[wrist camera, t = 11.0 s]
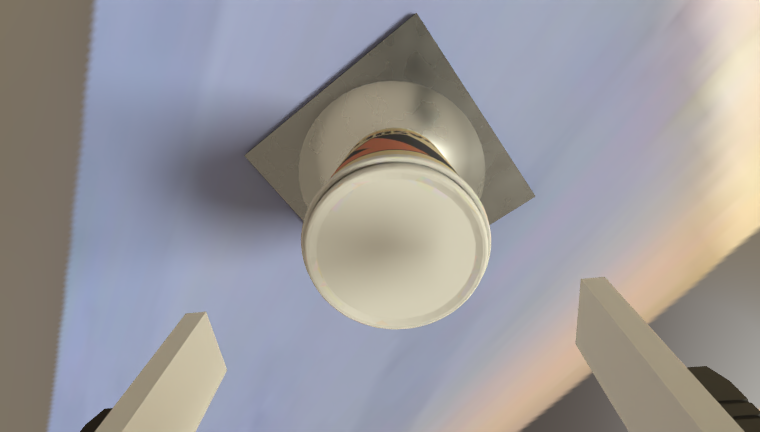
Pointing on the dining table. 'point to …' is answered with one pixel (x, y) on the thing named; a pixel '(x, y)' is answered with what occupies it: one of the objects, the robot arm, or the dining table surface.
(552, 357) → the dining table surface
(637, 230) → the dining table surface
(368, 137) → the coffee cup
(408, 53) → the flange plate
